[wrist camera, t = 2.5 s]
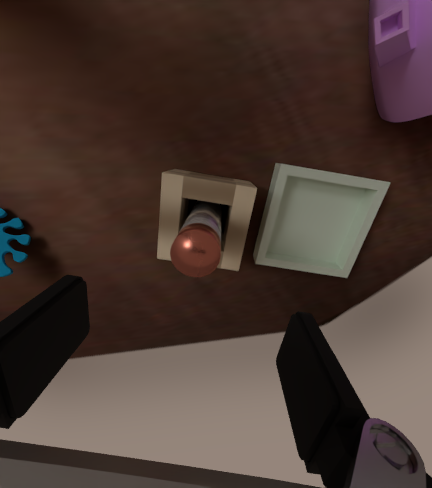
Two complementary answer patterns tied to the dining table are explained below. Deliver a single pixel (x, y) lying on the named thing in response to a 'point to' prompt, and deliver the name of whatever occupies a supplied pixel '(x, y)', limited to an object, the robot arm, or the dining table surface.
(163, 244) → the socket block
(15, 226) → the gear
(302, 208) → the tray
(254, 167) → the dining table surface
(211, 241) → the metal peg
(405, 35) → the teakettle
